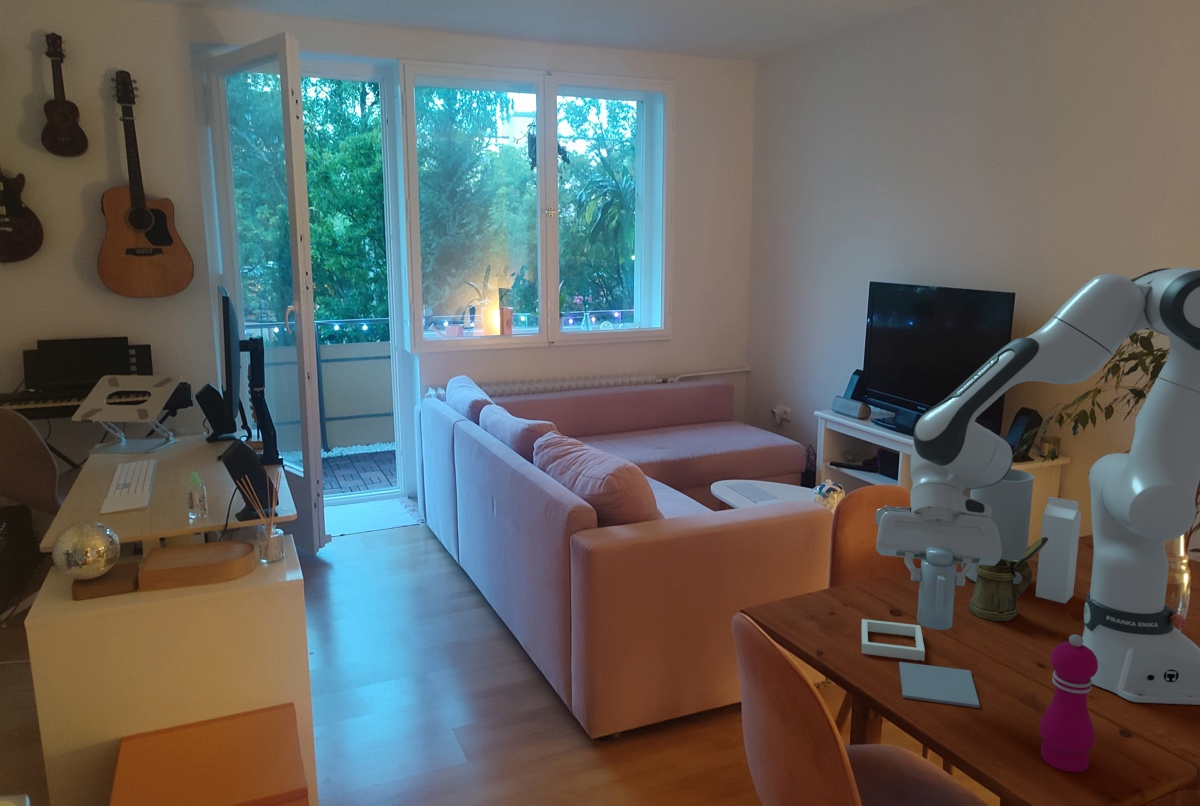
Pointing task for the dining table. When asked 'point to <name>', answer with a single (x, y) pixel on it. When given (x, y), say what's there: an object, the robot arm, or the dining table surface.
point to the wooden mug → (1002, 586)
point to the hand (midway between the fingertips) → (937, 582)
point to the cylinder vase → (1008, 514)
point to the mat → (938, 684)
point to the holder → (892, 650)
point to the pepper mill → (1069, 708)
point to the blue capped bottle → (937, 589)
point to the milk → (1058, 550)
